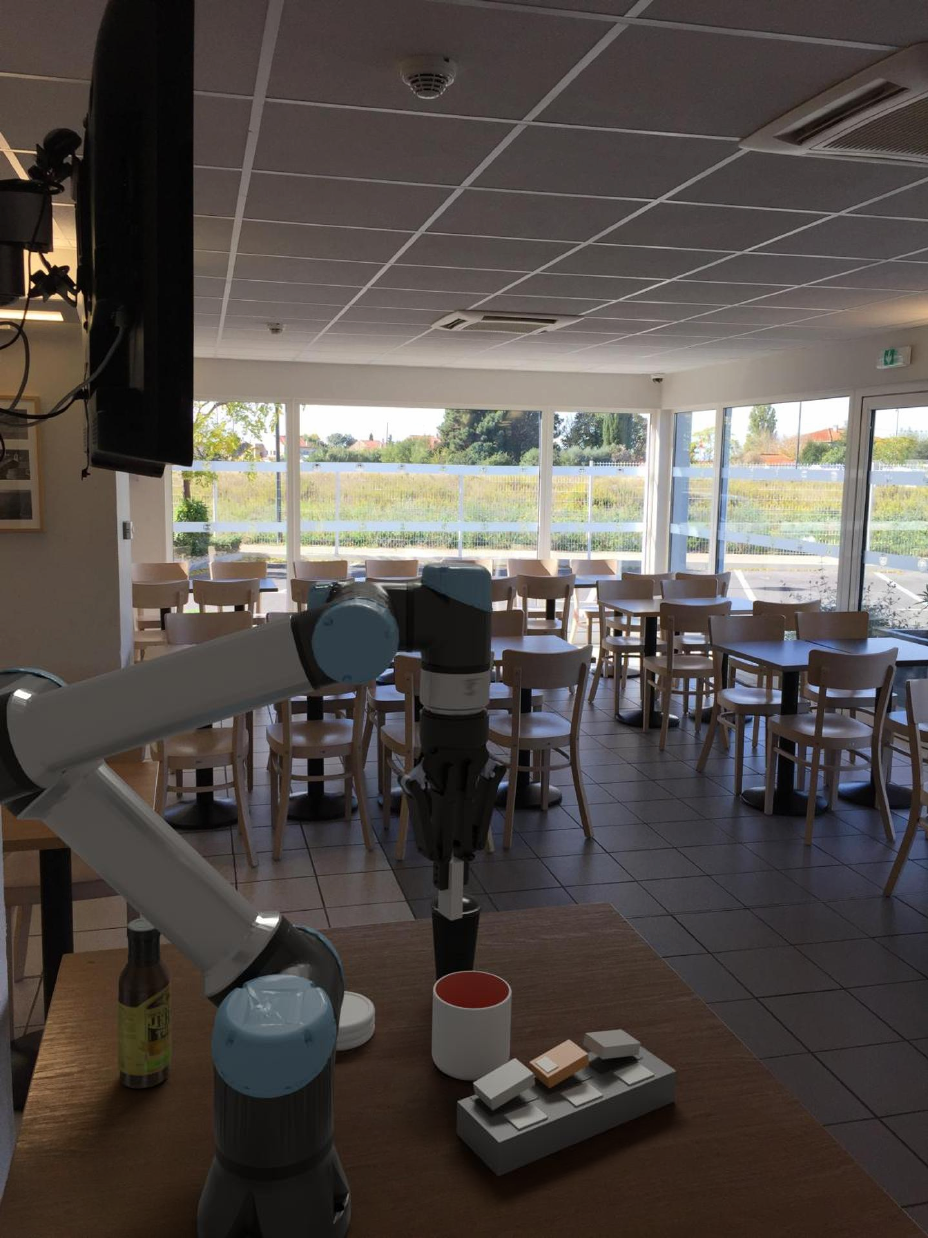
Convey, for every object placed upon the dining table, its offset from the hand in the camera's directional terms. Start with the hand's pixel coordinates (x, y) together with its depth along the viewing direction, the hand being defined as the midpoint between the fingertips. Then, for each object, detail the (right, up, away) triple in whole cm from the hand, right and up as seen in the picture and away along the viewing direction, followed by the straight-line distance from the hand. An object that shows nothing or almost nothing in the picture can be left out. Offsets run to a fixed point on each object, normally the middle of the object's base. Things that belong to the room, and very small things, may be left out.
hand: (450, 914), depth 113 cm
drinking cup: (0, -22, +35) cm, 42 cm away
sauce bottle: (-38, -24, +13) cm, 47 cm away
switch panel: (+14, -26, +7) cm, 30 cm away
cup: (+2, -24, +18) cm, 30 cm away
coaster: (-16, -23, +25) cm, 37 cm away
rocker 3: (+20, -20, +12) cm, 31 cm away
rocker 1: (+6, -21, +4) cm, 22 cm away
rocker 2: (+13, -20, +8) cm, 25 cm away
